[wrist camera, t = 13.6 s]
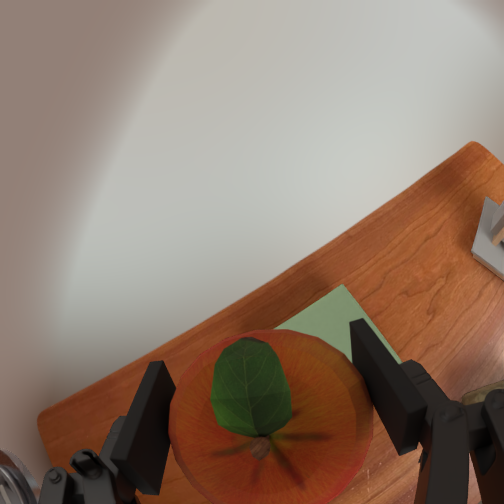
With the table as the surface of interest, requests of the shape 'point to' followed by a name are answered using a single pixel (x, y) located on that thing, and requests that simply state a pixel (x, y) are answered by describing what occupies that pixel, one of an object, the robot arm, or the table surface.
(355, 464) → the fruit
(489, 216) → the desk lamp
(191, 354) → the table surface
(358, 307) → the green block
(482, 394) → the stone block
